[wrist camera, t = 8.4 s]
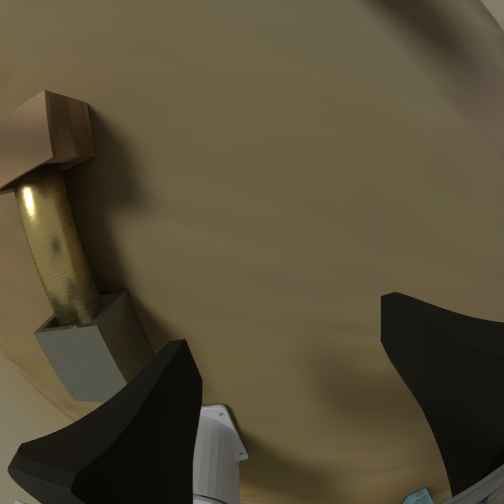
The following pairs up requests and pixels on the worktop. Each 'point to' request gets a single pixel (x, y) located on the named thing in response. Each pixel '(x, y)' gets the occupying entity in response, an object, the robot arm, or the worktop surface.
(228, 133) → the worktop surface
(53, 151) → the brown rectangular block
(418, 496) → the gum box
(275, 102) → the worktop surface
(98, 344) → the sleeve
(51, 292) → the tube
